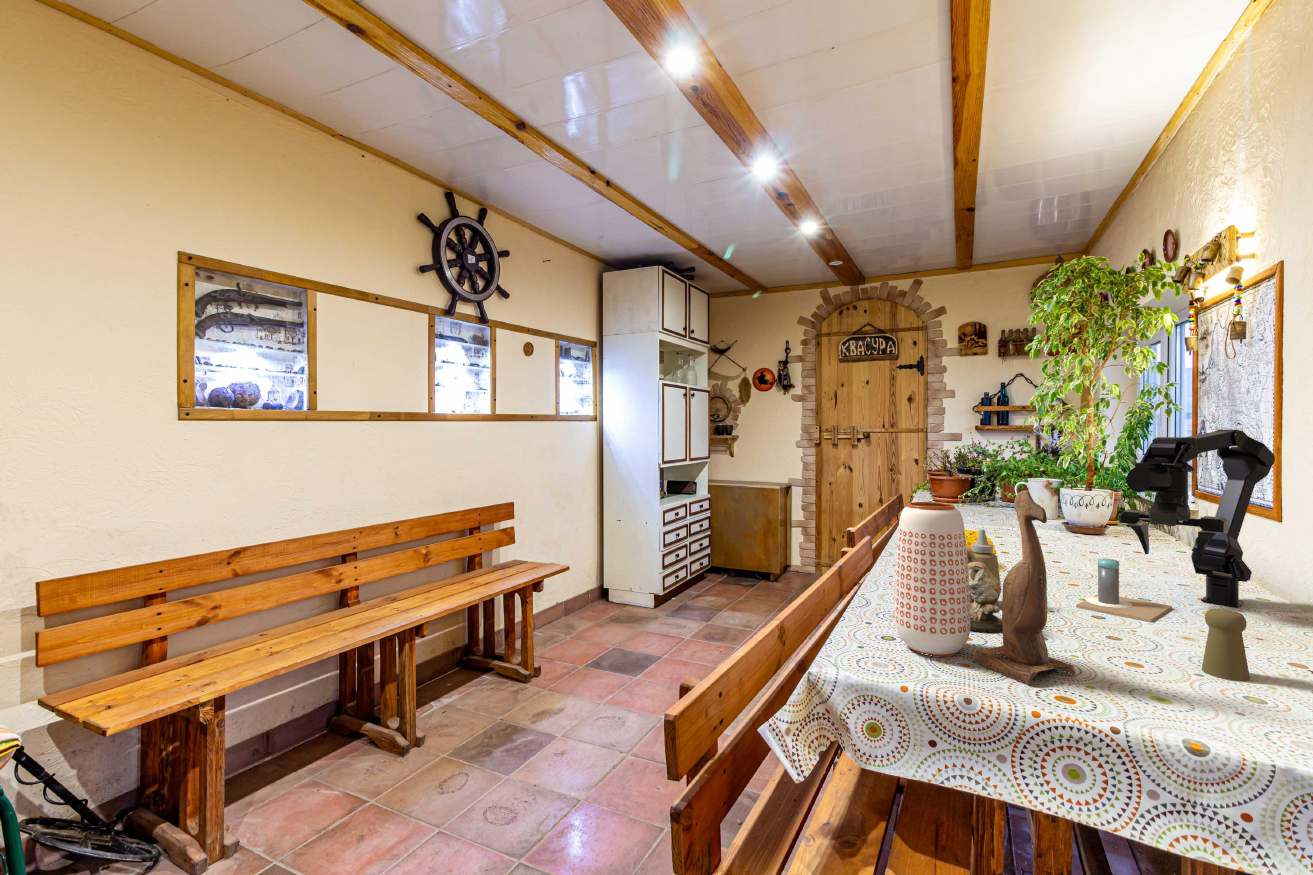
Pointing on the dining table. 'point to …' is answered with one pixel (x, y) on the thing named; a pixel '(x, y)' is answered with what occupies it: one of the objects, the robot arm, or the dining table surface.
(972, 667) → the dining table surface
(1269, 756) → the dining table surface
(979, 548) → the squeeze bottle
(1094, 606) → the kraft pad
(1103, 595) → the marker
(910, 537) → the patterned ceramic vase
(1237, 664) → the cork
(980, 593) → the owl figurine
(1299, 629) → the dining table surface
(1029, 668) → the bird sculpture
